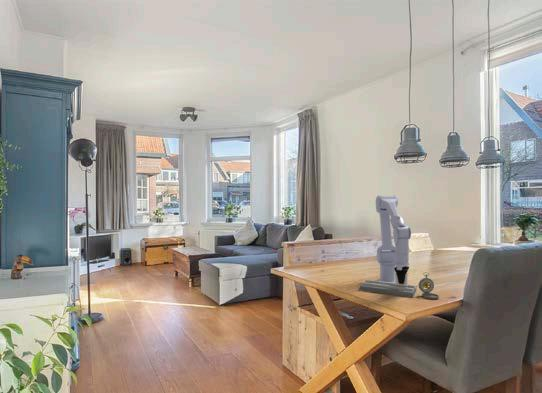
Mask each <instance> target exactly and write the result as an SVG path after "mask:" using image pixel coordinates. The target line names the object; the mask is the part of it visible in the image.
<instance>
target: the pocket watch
mask: <svg viewBox="0 0 542 393" xmlns="http://www.w3.org/2000/svg"><path fill="white" fill-rule="evenodd" d="M422 275H423V276H424V278H421V279H420V281H419V282H418V288H419V290H420V292H422V293H421V295H422V296H421V297H423V298H425V299H430V300H435V299H436V300H437V299H439V297H440V296H439V294H436V293H432V291H434V288H435V284H434V281H433V280H432V279H431V278H430V277H429V278H428V276H430V273H429V272H423V273H422Z"/></svg>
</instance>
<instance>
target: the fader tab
mask: <svg viewBox="0 0 542 393" xmlns="http://www.w3.org/2000/svg"><path fill="white" fill-rule="evenodd" d="M408 275H409V274H408V273H407V274H406V275H405V281H404V284H399V282H398V278H397V274H396V273H395V286H399V287H407V288H408V285H409V276H408Z"/></svg>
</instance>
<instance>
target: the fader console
mask: <svg viewBox="0 0 542 393" xmlns="http://www.w3.org/2000/svg"><path fill="white" fill-rule="evenodd" d="M359 291H365V292H371V293H379V294H384V295H393V296H400V297H409V298H414V296H415V295H416V293H417V285H416V286H415V284H414V285H413V284H408V288H407V287H399V286H395V283H391V282H382V281H378V280H373V279H365V281H363V282H362V283H361V284H360V285H359Z"/></svg>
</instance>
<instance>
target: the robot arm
mask: <svg viewBox="0 0 542 393" xmlns="http://www.w3.org/2000/svg"><path fill="white" fill-rule="evenodd" d="M398 204H399V199H398V197H397V195H377V196H376V197H375V210H376V212H377V214H379V220H380V232H381V233H380V234H381V235H380V236H381V245H380V246H378V247H377V249H376V261H377V263H379V279H378V280H377V281H382V282H391V283H395V274H397V278H398V282H399V284H404V281H405V275H406V274H408V271H409V269H410V266H409V265H410V262H409V257H410V256H409V254H410V252H409V249H410V248H409V245H410V244H409V242H410V241H409V240H410V239H411V236H412V231H411V227H410V226H408V225H407V224H406V222H405V221H404V218H403V217H402V215H400V214H399V211H398V208H397V207H398ZM391 227H392V230H393V231H392V230H391ZM392 234H393V242H394V245H393V244H392V243H393V242H392Z"/></svg>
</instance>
